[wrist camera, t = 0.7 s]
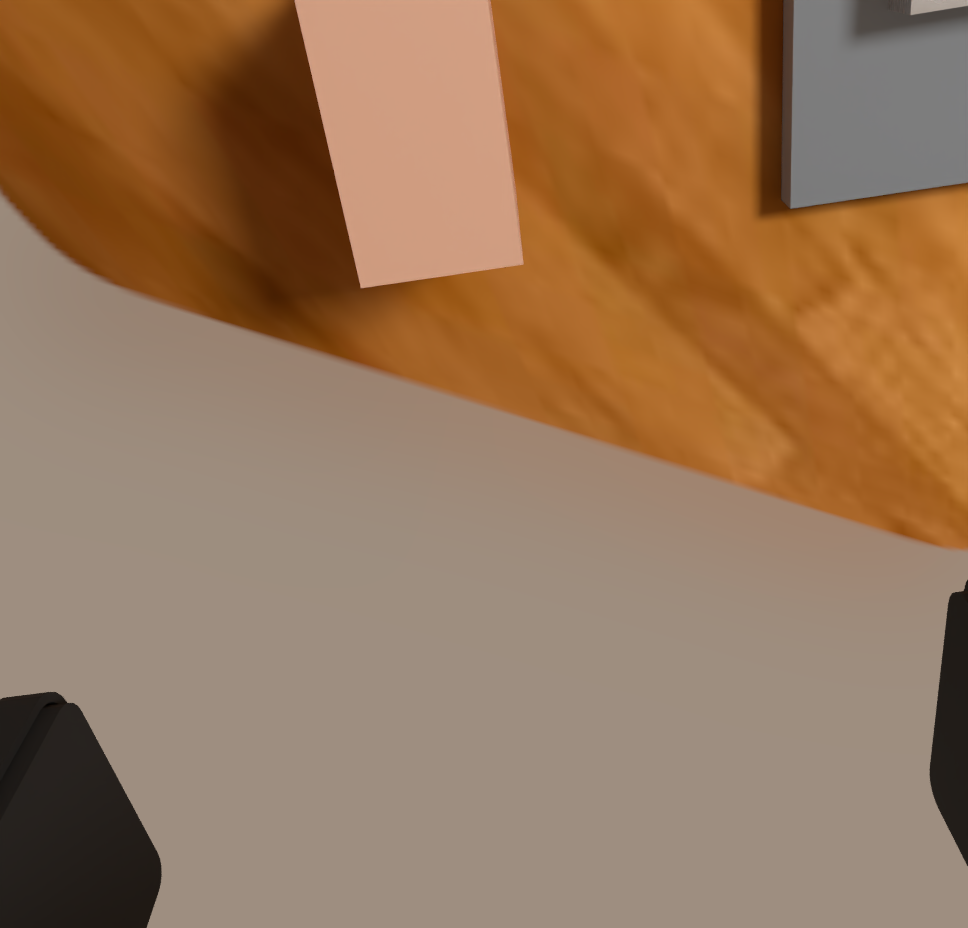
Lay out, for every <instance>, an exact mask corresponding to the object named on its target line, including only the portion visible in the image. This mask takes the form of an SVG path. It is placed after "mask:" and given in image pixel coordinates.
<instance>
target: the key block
mask: <svg viewBox="0 0 968 928" xmlns="http://www.w3.org/2000/svg"><path fill="white" fill-rule="evenodd" d="M295 5H296V9H297V13H298V18H299V22H300V26H301V31H302V35H303V39H304V44H305V48H306V52H307V57H308V61H309V65H310V70H311V74H312V78H313V83H314V87H315V91H316V96H317V100H318V104H319V109H320V113H321V117H322V122H323V126H324V130H325V135H326V139H327V143H328V148H329V152H330V156H331V161H332V165H333V169H334V174H335V178H336V182H337V187H338V191H339V195H340V200H341V204H342V208H343V212H344V217H345V221H346V225H347V230H348V234H349V238H350V243H351V247H352V251H353V256H354V260H355V264H356V269H357V273H358V277H359V282H360V286H361V288H366V287H373V286H379V285H386V284H393V283H400V282H407V281H414V280H420V279H427V278H434V277H441V276H448V275H454V274H461V273H468V272H475V271H482V270H488V269H495V268H502V267H509V266H516V265H523V255H522V245H521V236H520V226H519V216H518V207H517V197H516V188H515V180H514V173H513V165H512V158H511V150H510V143H509V136H508V128H507V121H506V113H505V106H504V98H503V91H502V83H501V76H500V68H499V61H498V53H497V46H496V38H495V31H494V23H493V16H492V9H491V1H490V0H295Z"/></svg>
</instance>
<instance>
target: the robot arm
mask: <svg viewBox="0 0 968 928" xmlns="http://www.w3.org/2000/svg"><path fill="white" fill-rule="evenodd" d="M944 638H945V639H944V646H943V656H942V664H941V673H940V682H939V691H938V701H937V709H936V718H935V727H934V736H933V744H932V754H931V762H930V782H931V787H932V792H933V795H934V798H935V801H936V804H937V806H938V808H939V810H940V812H941V814H942V816H943V818H944V820H945V822H946V824H947V826H948V828H949V830H950V832H951V834H952V836H953V838H954V840H955V842H956V844H957V846H958V848H959V850H960V852H961V854H962V856H963V858H964V860H965V861H966V864H967V866H968V580H967V582H966V585H965V589H964V591H962V592H955V593H952V595H951V596H950V599H949V603H948V611H947V619H946V629H945V637H944ZM160 883H161V862H160V858H159V855H158V853H157V851H156V849H155V847H154V845H153V843H152V842H151V840H150V838H149V836H148V834H147V832H146V830H145V828H144V827H143V825H142V823H141V821H140V819H139V818H138V815H137V814H136V812H135V810H134V808H133V806H132V804H131V802H130V800H129V799H128V797H127V795H126V793H125V791H124V789H123V787H122V786H121V784H120V782H119V780H118V778H117V776H116V774H115V773H114V771H113V769H112V767H111V765H110V763H109V761H108V759H107V758H106V756H105V754H104V752H103V750H102V748H101V746H100V745H99V743H98V741H97V739H96V737H95V735H94V733H93V732H92V730H91V728H90V726H89V724H88V722H87V720H86V719H85V717H84V715H83V713H82V711H81V710H80V708H79V707H78V706H77V705H75V704H74V703H67V702H66V701H65V699H64V698H63V697H62V696H61V695H59V694H58V693H56V692H46V693H39V694H31V695H22V696H14V697H6V698H2V699H0V928H147V924H148V922H149V919H150V916H151V913H152V910H153V907H154V904H155V901H156V898H157V895H158V892H159V888H160Z"/></svg>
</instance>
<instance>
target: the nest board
mask: <svg viewBox="0 0 968 928" xmlns="http://www.w3.org/2000/svg"><path fill="white" fill-rule="evenodd" d="M961 183H968V0H784V3H783V91H782V179H781V200H782V201H783V202H784V203H785V204H786V205H787V206H788V207H789V208H790V209H792V208H799V207H806V206H813V205H819V204H826V203H833V202H840V201H846V200H853V199H860V198H867V197H873V196H880V195H887V194H893V193H900V192H907V191H914V190H920V189H927V188H934V187H941V186H947V185H954V184H961Z"/></svg>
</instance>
